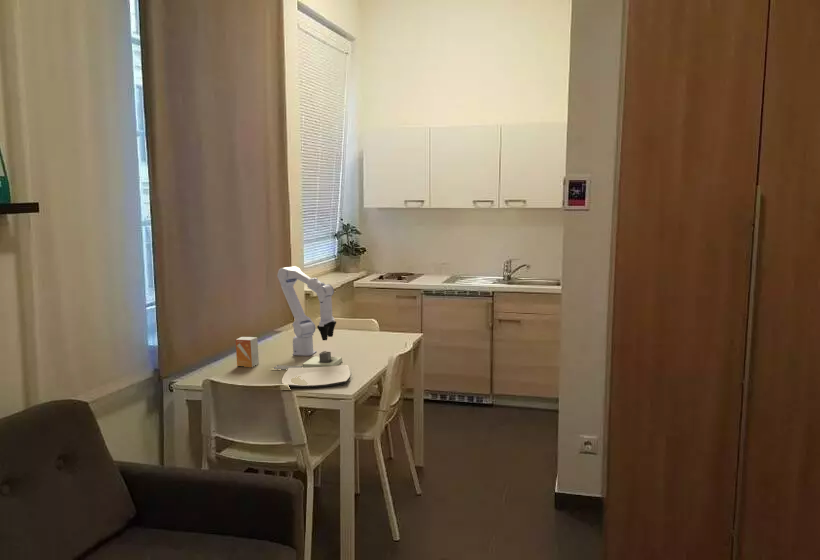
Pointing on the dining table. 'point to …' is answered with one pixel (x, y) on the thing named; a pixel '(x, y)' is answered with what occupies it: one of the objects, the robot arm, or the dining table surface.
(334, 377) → the plate
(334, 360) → the outlet board
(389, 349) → the dining table surface
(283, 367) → the phone
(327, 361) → the charger
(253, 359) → the small box
